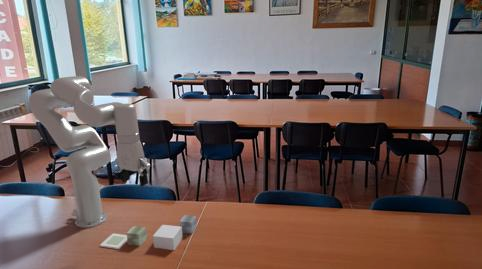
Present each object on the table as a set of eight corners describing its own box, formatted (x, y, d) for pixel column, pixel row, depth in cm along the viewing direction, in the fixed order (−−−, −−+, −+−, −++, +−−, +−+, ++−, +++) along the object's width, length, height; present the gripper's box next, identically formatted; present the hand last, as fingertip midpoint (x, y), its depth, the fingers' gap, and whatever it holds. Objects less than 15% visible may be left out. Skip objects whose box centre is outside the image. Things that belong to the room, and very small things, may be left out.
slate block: (180, 232, 131) (179, 221, 130) (185, 225, 136) (184, 214, 134) (192, 233, 130) (191, 222, 128) (196, 227, 134) (196, 216, 133)
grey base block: (154, 247, 121) (152, 236, 120) (163, 235, 129) (162, 224, 128) (174, 250, 120) (173, 238, 118) (182, 238, 127) (181, 226, 126)
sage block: (127, 244, 123) (126, 232, 122) (135, 237, 128) (133, 225, 127) (139, 246, 122) (138, 234, 121) (146, 238, 127) (145, 227, 126)
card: (100, 246, 122) (99, 244, 122) (112, 234, 130) (112, 233, 130) (118, 249, 121) (118, 247, 120) (130, 237, 128) (130, 235, 128)
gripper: (104, 138, 119) (111, 182, 123) (137, 143, 110) (143, 190, 114) (120, 134, 125) (127, 176, 129) (153, 137, 116) (159, 182, 121)
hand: (134, 182), depth 122 cm, fingers open, 9 cm apart
